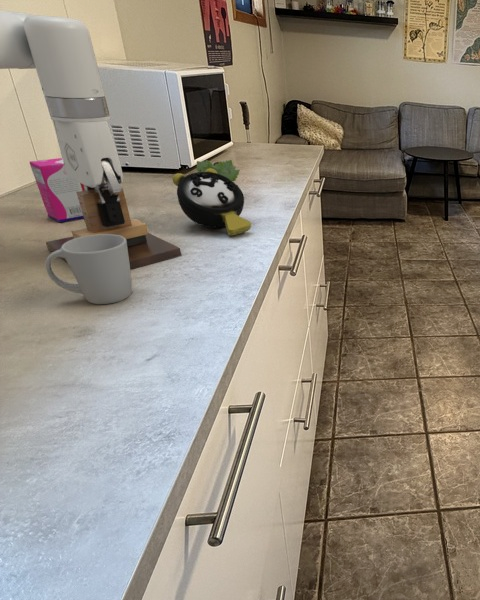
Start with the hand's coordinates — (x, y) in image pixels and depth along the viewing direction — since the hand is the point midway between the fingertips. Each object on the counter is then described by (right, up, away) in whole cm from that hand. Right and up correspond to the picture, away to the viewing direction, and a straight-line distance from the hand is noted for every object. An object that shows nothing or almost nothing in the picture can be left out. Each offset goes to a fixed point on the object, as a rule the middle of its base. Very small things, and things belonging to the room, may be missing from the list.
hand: (109, 222), depth 81 cm
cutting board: (-1, -5, +3) cm, 6 cm away
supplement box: (-21, +4, +17) cm, 28 cm away
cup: (+7, -13, -11) cm, 18 cm away
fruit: (+1, +12, +36) cm, 38 cm away
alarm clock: (+10, +2, +19) cm, 21 cm away
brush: (0, -4, +2) cm, 4 cm away
